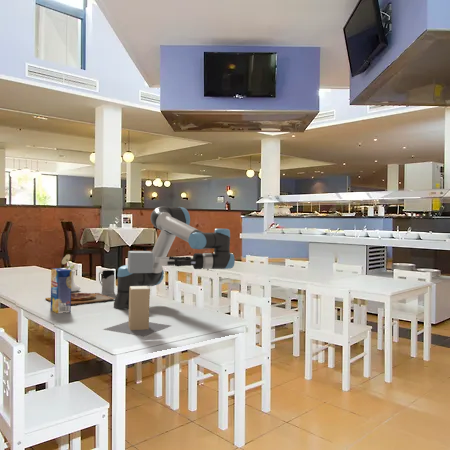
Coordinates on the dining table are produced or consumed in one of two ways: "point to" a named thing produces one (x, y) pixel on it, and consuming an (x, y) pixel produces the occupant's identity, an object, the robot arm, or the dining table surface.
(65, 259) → the flower in vase
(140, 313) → the carton base
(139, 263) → the grey matte cube
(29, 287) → the dining table surface
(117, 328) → the charcoal mat
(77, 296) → the pizza
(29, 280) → the dining table surface
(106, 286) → the grey metal pitcher
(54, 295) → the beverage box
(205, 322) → the dining table surface
